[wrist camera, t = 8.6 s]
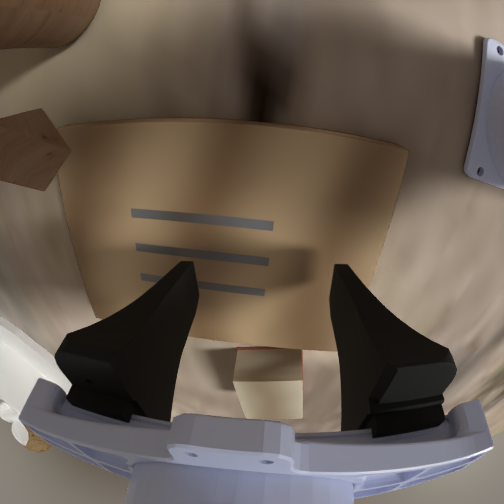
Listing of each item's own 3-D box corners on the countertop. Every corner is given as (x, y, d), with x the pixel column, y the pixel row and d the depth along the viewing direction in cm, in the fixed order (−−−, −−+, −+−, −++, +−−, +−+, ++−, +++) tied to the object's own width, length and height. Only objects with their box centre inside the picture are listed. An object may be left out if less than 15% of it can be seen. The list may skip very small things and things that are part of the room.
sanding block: (302, 342, 20) (303, 379, 17) (302, 386, 23) (303, 418, 20) (237, 344, 21) (231, 381, 18) (249, 387, 24) (245, 419, 21)
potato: (43, 416, 43) (28, 450, 35) (17, 392, 39) (-1, 429, 30) (69, 426, 42) (54, 465, 34) (42, 402, 37) (23, 444, 29)
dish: (-36, 271, 21) (-88, 334, 12) (124, 397, 29) (95, 480, 19) (-22, 347, 33) (-49, 390, 23) (84, 425, 40) (66, 474, 31)
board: (399, 145, 12) (409, 151, 11) (338, 338, 19) (340, 351, 18) (66, 125, 12) (52, 130, 11) (102, 306, 20) (95, 317, 18)
